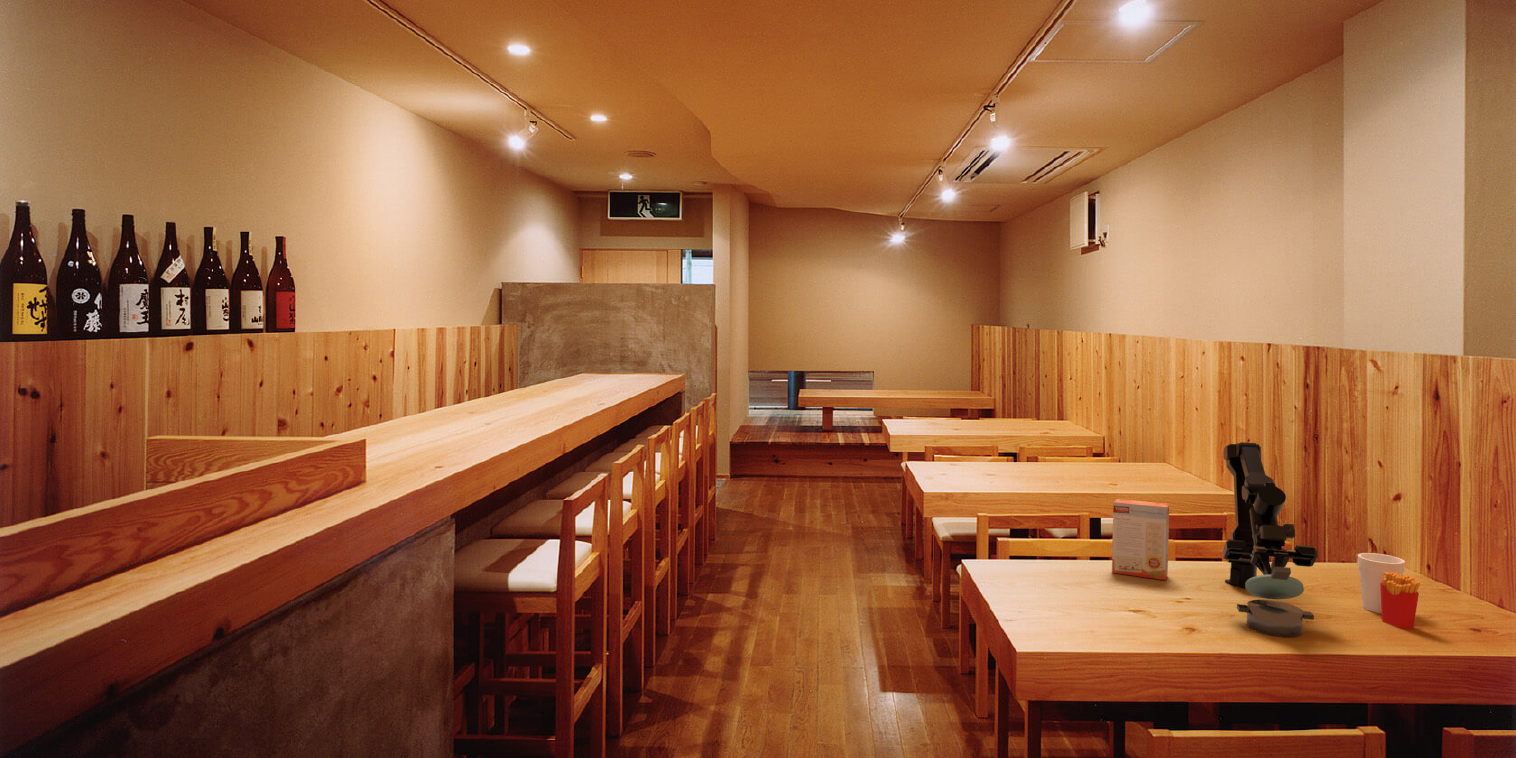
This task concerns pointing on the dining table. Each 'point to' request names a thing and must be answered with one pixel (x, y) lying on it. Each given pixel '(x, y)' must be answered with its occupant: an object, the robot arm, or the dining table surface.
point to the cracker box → (1140, 538)
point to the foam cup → (1376, 576)
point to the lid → (1275, 585)
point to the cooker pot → (1275, 617)
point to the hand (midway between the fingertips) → (1273, 585)
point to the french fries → (1399, 599)
